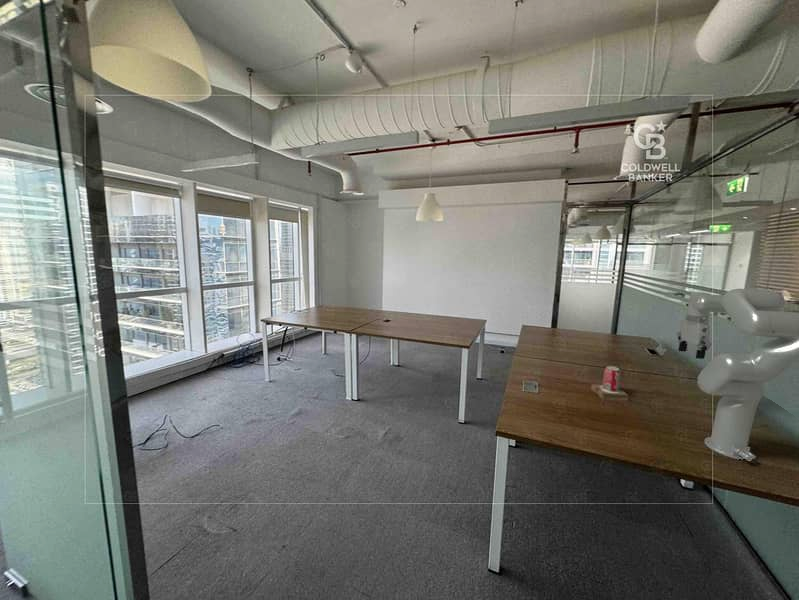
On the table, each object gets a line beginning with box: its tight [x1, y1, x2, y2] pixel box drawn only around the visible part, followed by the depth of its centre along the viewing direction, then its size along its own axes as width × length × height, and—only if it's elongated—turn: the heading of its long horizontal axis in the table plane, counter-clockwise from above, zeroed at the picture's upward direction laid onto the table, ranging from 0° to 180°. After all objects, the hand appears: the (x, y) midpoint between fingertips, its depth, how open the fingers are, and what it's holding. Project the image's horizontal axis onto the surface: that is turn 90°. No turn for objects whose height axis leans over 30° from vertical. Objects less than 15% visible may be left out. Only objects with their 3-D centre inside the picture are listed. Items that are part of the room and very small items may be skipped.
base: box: [590, 383, 630, 402], centre depth 162 cm, size 12×12×3 cm
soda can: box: [602, 365, 621, 392], centre depth 160 cm, size 7×7×12 cm
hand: (690, 354), depth 142 cm, fingers open, 9 cm apart
